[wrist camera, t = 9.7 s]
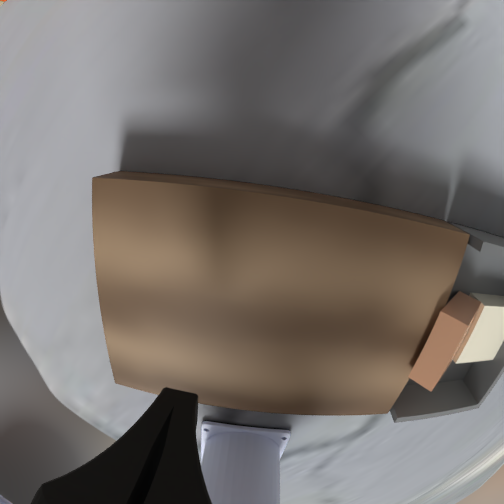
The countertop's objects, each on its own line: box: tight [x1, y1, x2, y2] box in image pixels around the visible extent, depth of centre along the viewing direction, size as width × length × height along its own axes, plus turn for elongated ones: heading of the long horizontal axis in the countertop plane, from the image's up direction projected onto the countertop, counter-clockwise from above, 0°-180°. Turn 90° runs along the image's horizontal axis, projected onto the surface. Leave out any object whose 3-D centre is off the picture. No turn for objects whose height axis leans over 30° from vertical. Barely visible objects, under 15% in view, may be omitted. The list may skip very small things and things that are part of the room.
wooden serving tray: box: [92, 171, 470, 415], centre depth 16 cm, size 14×20×3 cm
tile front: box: [408, 291, 481, 391], centre depth 15 cm, size 5×5×2 cm
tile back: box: [453, 292, 504, 364], centre depth 16 cm, size 5×5×2 cm
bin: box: [390, 221, 504, 423], centre depth 16 cm, size 14×10×4 cm
